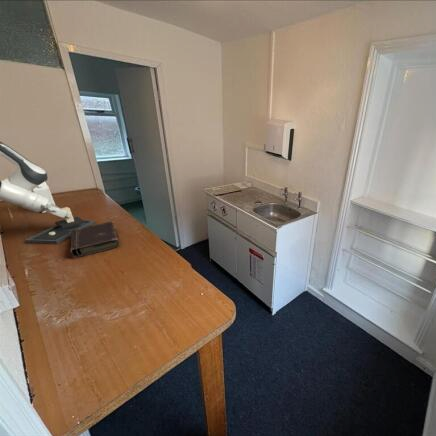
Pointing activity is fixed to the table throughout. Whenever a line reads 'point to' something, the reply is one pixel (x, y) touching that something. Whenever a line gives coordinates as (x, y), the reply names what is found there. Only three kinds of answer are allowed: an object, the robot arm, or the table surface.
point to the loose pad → (65, 225)
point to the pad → (53, 234)
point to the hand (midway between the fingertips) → (69, 215)
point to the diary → (93, 239)
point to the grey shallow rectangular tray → (32, 240)
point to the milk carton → (44, 192)
